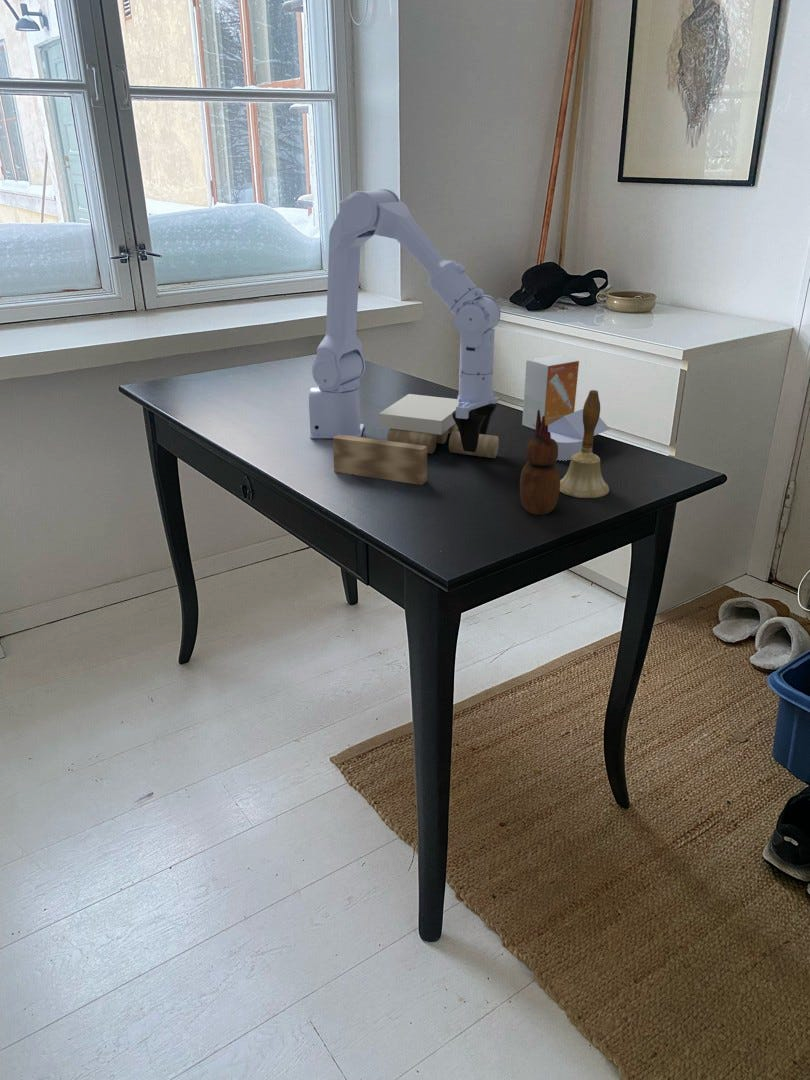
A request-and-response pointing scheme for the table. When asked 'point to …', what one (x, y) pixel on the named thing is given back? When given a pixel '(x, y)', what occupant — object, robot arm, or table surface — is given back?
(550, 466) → the wooden figurine
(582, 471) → the hand bell
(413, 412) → the slab
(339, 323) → the robot arm
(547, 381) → the small box
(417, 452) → the block
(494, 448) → the roller
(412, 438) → the roller track
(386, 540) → the table surface
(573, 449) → the wedge on round base
